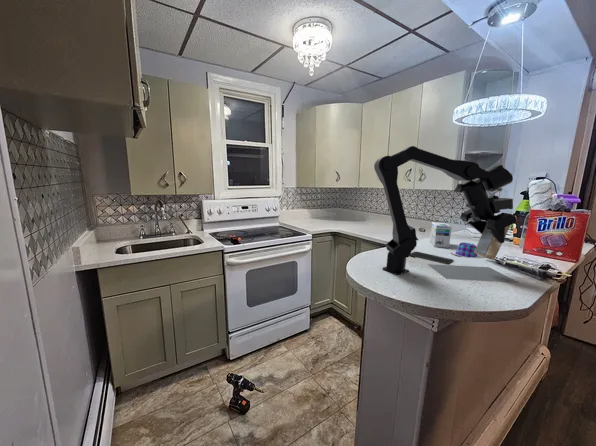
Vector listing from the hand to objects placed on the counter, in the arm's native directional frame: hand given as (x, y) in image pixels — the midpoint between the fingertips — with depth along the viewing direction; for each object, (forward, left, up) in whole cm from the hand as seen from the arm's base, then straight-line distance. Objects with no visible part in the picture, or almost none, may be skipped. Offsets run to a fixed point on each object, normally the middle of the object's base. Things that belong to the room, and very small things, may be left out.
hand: (495, 240), depth 82 cm
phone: (+1, +21, -13) cm, 24 cm away
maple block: (-2, +2, -6) cm, 6 cm away
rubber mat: (-4, +5, -12) cm, 14 cm away
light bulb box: (+28, +31, -13) cm, 43 cm away
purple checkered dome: (+21, +15, -13) cm, 29 cm away
